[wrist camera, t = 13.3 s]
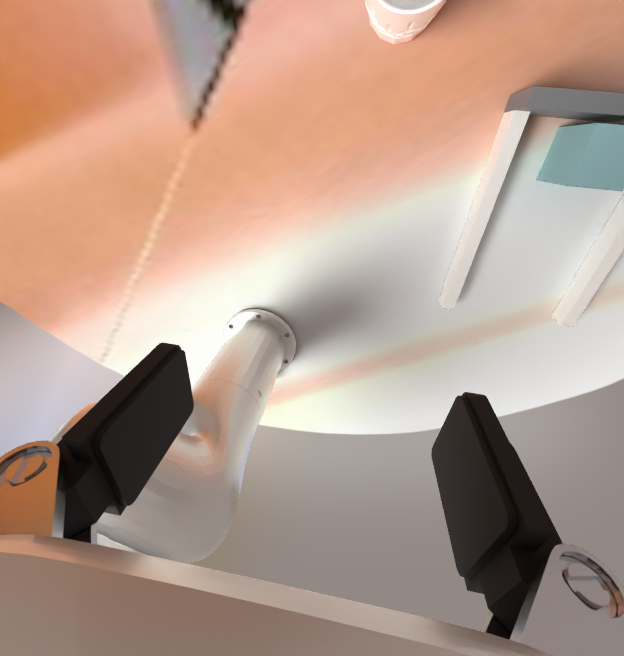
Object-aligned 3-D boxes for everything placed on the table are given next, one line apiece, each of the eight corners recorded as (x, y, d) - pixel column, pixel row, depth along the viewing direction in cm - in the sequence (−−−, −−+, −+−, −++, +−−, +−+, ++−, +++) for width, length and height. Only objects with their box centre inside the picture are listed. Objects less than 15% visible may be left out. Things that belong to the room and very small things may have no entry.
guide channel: (562, 317, 41) (585, 336, 37) (438, 300, 42) (447, 316, 38) (691, 109, 29) (747, 103, 24) (510, 94, 30) (534, 85, 26)
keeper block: (582, 184, 33) (621, 191, 28) (535, 180, 34) (566, 185, 28) (610, 131, 30) (659, 128, 25) (559, 127, 31) (597, 122, 26)
